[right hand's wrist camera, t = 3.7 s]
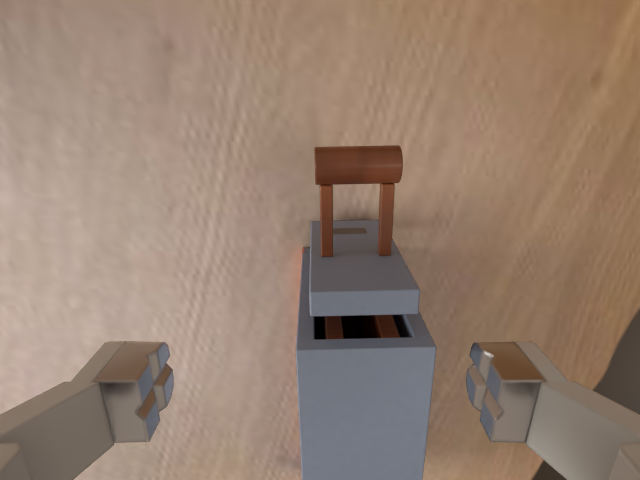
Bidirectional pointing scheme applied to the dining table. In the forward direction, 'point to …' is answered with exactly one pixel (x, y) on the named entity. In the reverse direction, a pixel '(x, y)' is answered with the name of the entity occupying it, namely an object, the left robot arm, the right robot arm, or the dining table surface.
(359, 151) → the drawer
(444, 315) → the dining table surface
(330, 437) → the cabinet
